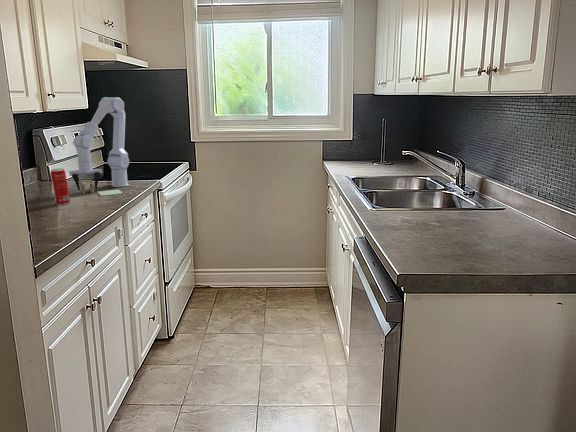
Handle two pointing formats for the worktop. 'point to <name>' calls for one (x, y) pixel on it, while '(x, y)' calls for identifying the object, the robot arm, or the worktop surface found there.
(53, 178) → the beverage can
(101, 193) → the mat
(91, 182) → the stool
